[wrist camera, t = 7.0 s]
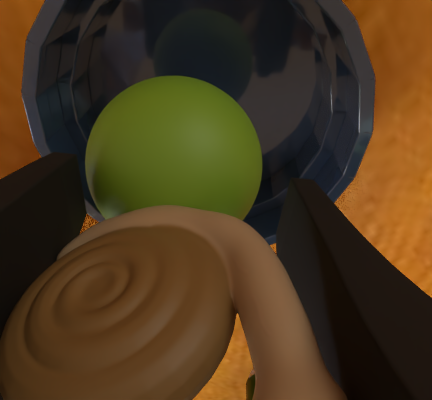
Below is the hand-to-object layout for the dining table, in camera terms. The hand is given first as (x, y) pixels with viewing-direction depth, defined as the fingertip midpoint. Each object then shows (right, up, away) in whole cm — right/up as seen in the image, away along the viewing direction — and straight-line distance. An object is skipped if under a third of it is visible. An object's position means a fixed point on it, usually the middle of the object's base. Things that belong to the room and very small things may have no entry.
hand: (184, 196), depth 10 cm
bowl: (0, +5, +6) cm, 7 cm away
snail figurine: (0, +3, +4) cm, 5 cm away
